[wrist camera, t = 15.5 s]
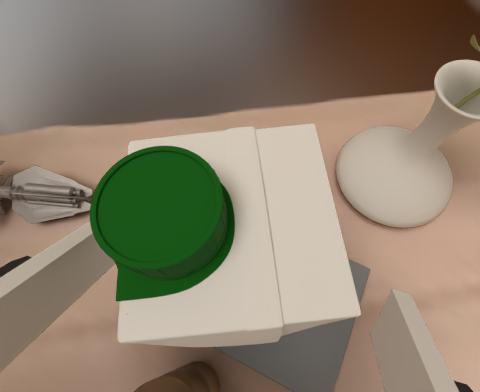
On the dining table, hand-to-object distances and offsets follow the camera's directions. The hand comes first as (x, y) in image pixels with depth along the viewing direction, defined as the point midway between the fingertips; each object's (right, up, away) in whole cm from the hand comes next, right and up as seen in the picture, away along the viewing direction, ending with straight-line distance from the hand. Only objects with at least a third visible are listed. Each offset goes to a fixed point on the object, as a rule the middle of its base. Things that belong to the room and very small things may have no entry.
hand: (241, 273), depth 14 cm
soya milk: (0, -4, +13) cm, 14 cm away
